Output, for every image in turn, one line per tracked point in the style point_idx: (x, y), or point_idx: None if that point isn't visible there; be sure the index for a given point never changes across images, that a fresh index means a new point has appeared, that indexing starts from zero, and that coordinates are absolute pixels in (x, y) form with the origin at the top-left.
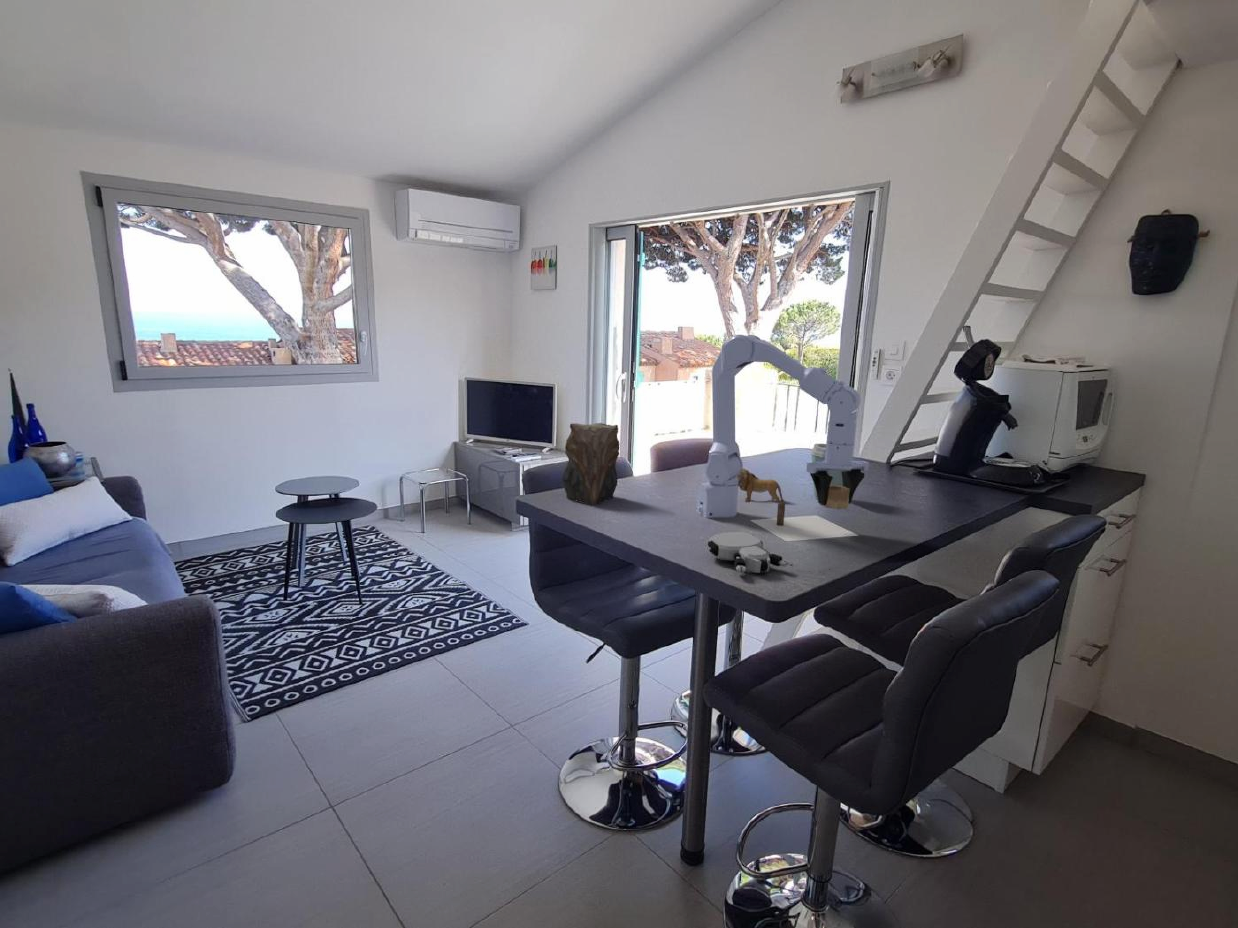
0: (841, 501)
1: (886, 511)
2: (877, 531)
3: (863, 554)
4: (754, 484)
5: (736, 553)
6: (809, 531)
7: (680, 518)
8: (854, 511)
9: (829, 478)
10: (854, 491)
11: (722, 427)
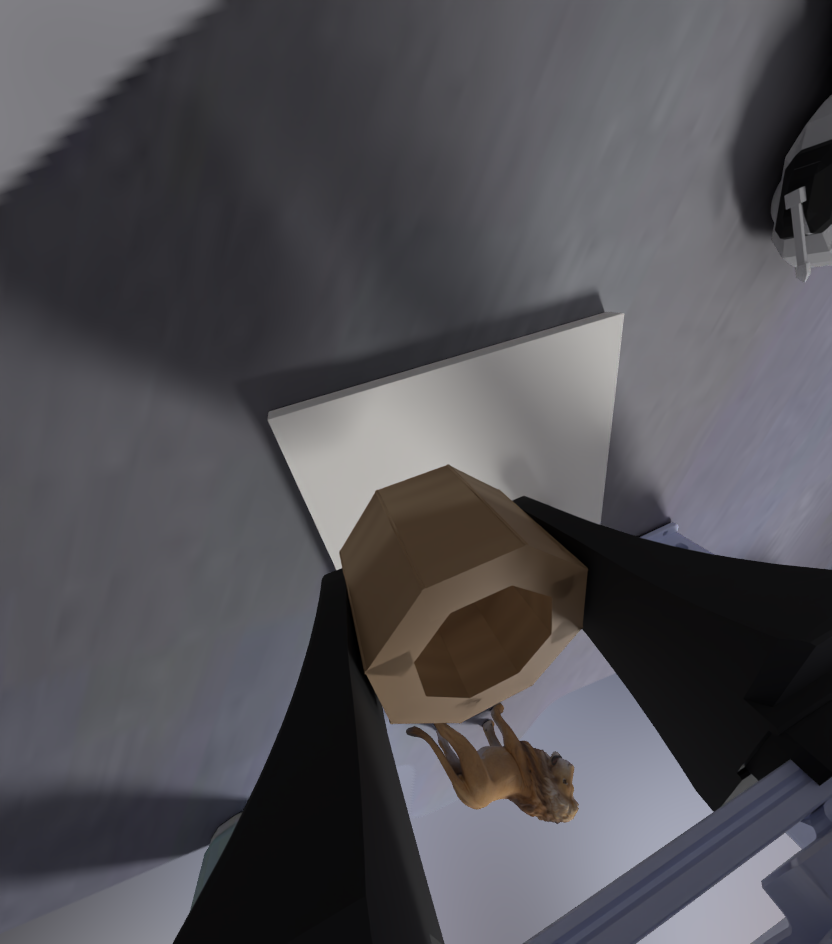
0: (443, 503)
1: (10, 822)
2: (115, 565)
3: (310, 150)
4: (514, 767)
5: None
6: (480, 451)
7: None
8: (177, 764)
9: (799, 607)
10: (309, 659)
11: None
